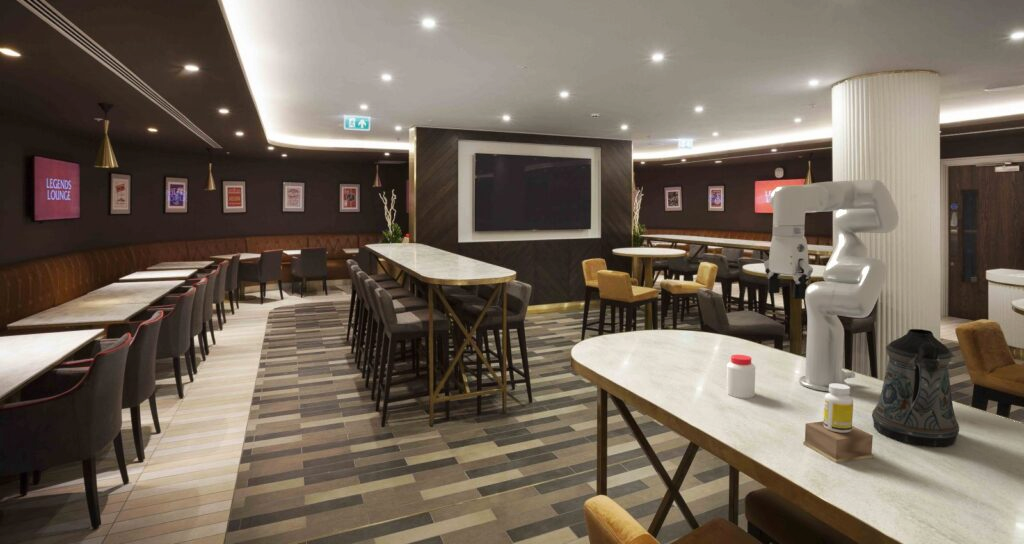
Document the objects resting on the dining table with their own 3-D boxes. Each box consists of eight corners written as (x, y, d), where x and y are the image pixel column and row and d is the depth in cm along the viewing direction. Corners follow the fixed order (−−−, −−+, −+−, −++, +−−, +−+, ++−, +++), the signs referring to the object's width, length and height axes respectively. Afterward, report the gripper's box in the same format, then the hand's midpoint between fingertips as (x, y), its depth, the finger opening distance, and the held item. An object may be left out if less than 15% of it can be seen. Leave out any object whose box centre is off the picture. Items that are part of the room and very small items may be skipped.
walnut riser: (838, 439, 124) (839, 419, 124) (873, 457, 115) (874, 435, 115) (803, 444, 123) (804, 423, 122) (835, 462, 113) (836, 440, 113)
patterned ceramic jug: (919, 418, 135) (926, 322, 133) (990, 453, 116) (999, 340, 113) (855, 420, 135) (861, 324, 132) (916, 456, 116) (924, 343, 113)
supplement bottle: (857, 431, 117) (859, 387, 116) (840, 435, 115) (842, 391, 114) (834, 422, 122) (836, 380, 121) (817, 426, 120) (819, 384, 119)
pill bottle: (737, 399, 152) (738, 361, 150) (720, 390, 159) (721, 354, 158) (760, 396, 154) (761, 359, 152) (742, 388, 161) (743, 352, 160)
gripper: (825, 233, 135) (822, 300, 137) (778, 230, 151) (776, 290, 153) (799, 234, 133) (796, 301, 135) (754, 231, 150) (753, 291, 152)
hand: (785, 295), depth 144 cm, fingers open, 9 cm apart
